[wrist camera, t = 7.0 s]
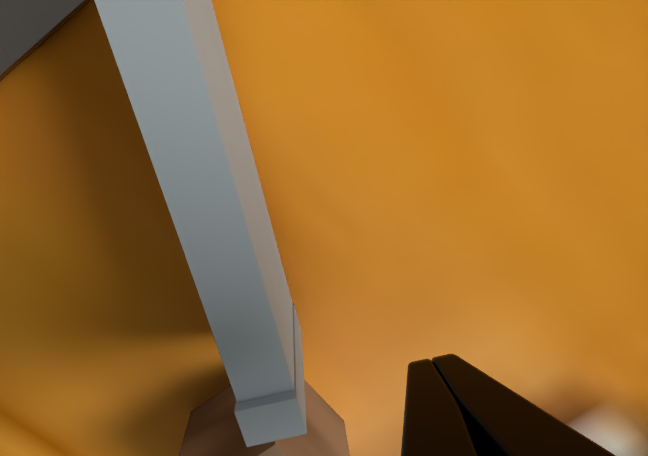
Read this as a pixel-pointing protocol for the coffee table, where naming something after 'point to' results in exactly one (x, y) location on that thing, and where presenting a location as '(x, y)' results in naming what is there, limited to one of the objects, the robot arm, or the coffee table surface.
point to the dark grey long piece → (30, 26)
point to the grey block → (214, 201)
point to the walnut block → (295, 452)
